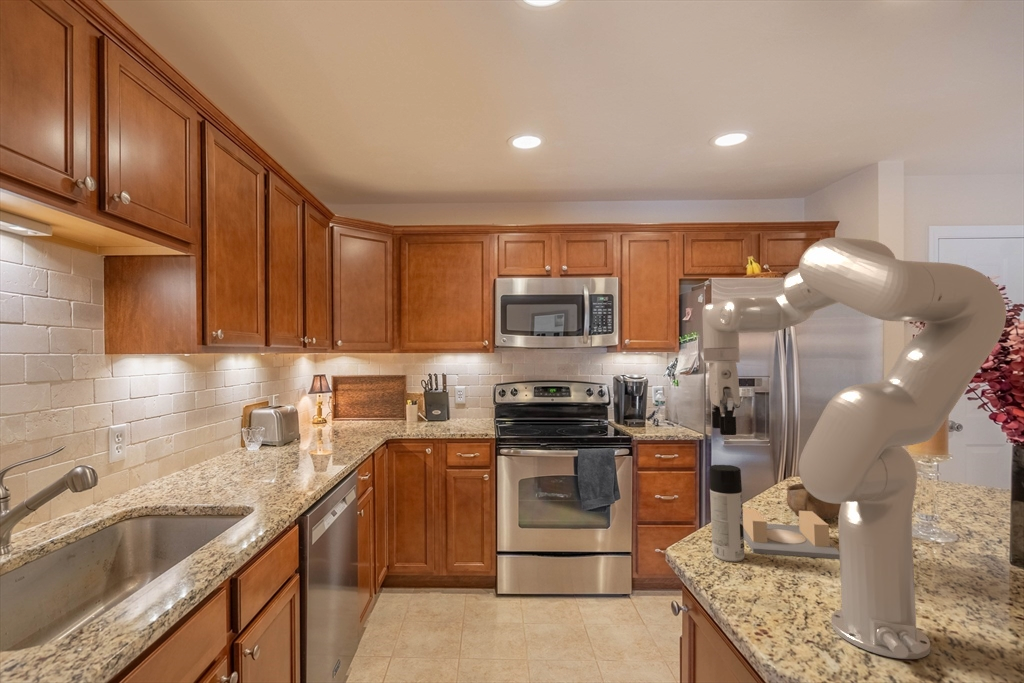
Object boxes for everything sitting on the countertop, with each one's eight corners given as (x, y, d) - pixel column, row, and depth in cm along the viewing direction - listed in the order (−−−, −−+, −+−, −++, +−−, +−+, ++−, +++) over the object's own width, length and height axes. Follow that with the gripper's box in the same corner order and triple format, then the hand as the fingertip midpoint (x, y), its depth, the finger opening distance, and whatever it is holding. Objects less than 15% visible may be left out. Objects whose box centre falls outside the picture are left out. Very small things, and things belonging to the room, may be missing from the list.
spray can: (748, 563, 104) (745, 471, 104) (715, 561, 105) (712, 470, 106) (740, 551, 110) (737, 464, 111) (709, 549, 112) (706, 463, 112)
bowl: (850, 528, 119) (834, 488, 121) (788, 533, 127) (775, 495, 129) (852, 509, 133) (838, 473, 135) (797, 514, 141) (784, 480, 143)
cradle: (842, 559, 105) (841, 531, 105) (753, 552, 109) (752, 526, 109) (811, 530, 122) (810, 506, 123) (735, 525, 127) (735, 502, 127)
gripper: (748, 356, 100) (751, 438, 99) (731, 356, 117) (733, 426, 116) (710, 356, 102) (712, 437, 101) (698, 356, 119) (700, 425, 118)
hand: (723, 431), depth 109 cm, fingers open, 9 cm apart
